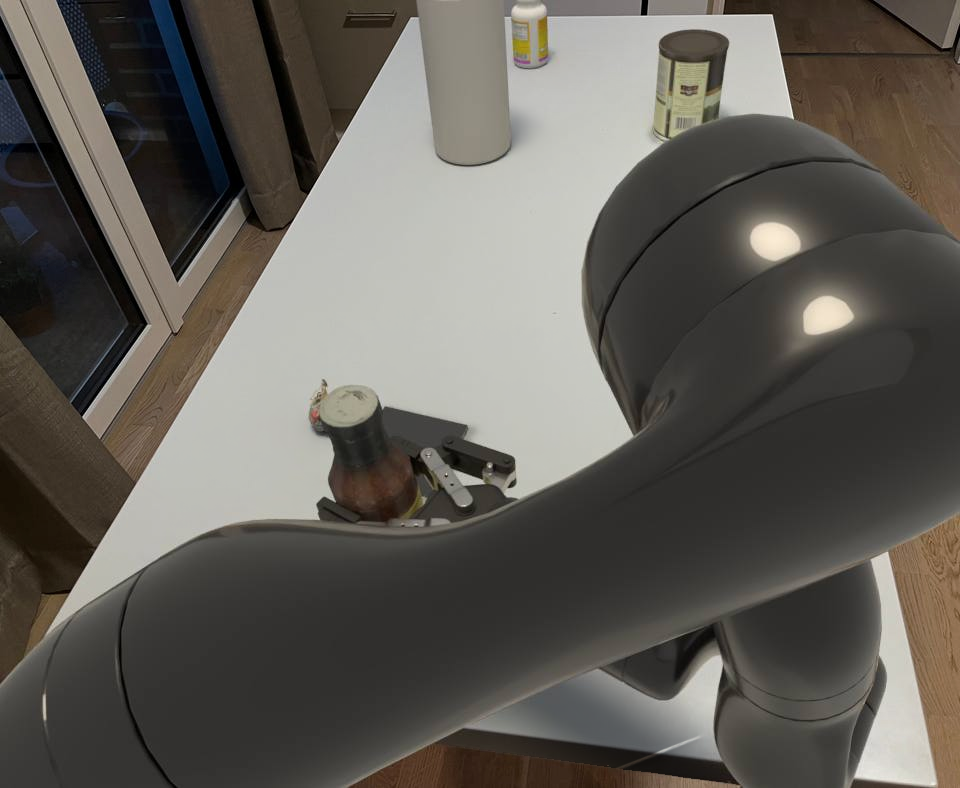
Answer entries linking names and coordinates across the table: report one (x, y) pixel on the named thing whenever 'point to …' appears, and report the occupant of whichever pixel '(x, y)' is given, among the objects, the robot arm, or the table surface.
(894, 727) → the table surface
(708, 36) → the coffee can
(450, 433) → the slate coaster
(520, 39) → the supplement bottle
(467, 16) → the cylinder vase
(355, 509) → the sauce bottle
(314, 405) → the figurine
